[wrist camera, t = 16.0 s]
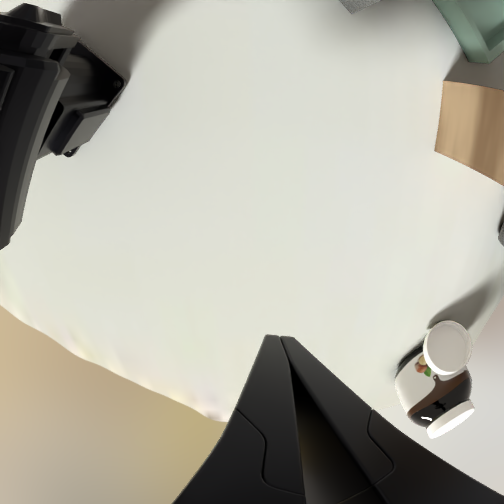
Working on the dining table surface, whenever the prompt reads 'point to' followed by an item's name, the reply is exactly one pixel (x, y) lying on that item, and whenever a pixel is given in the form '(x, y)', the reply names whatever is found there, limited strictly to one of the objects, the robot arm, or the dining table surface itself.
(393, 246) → the dining table surface
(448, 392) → the spread jar
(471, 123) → the block
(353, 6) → the holder
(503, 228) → the trolley
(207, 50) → the dining table surface
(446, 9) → the tray
